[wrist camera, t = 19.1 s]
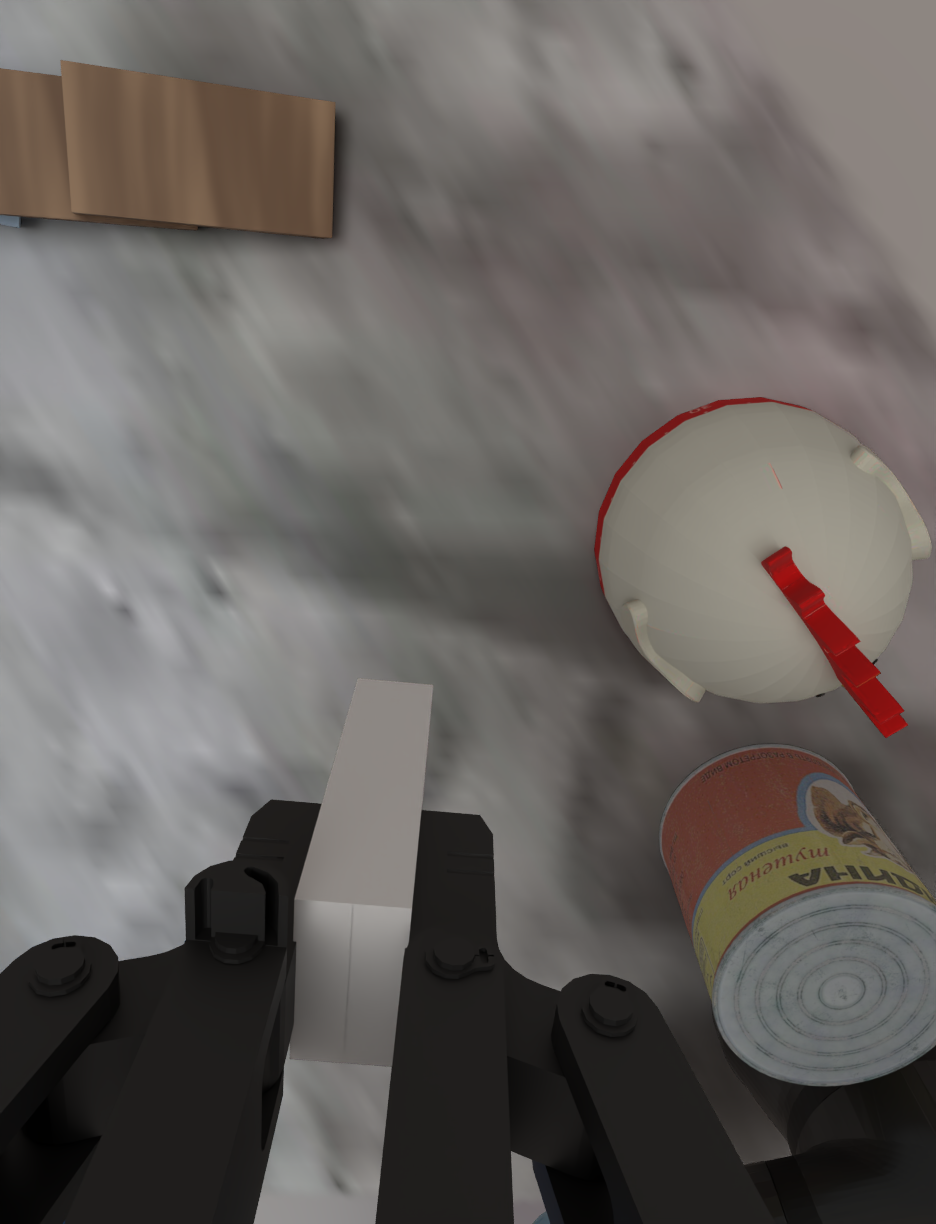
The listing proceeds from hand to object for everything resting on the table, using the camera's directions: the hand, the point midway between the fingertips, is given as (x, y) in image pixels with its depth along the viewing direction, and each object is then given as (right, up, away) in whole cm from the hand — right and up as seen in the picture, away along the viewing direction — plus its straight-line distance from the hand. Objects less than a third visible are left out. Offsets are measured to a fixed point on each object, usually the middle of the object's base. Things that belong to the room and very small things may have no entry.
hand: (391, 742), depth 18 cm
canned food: (+18, -10, +32) cm, 38 cm away
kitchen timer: (+15, +6, +26) cm, 31 cm away
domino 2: (-4, +21, +19) cm, 29 cm away
